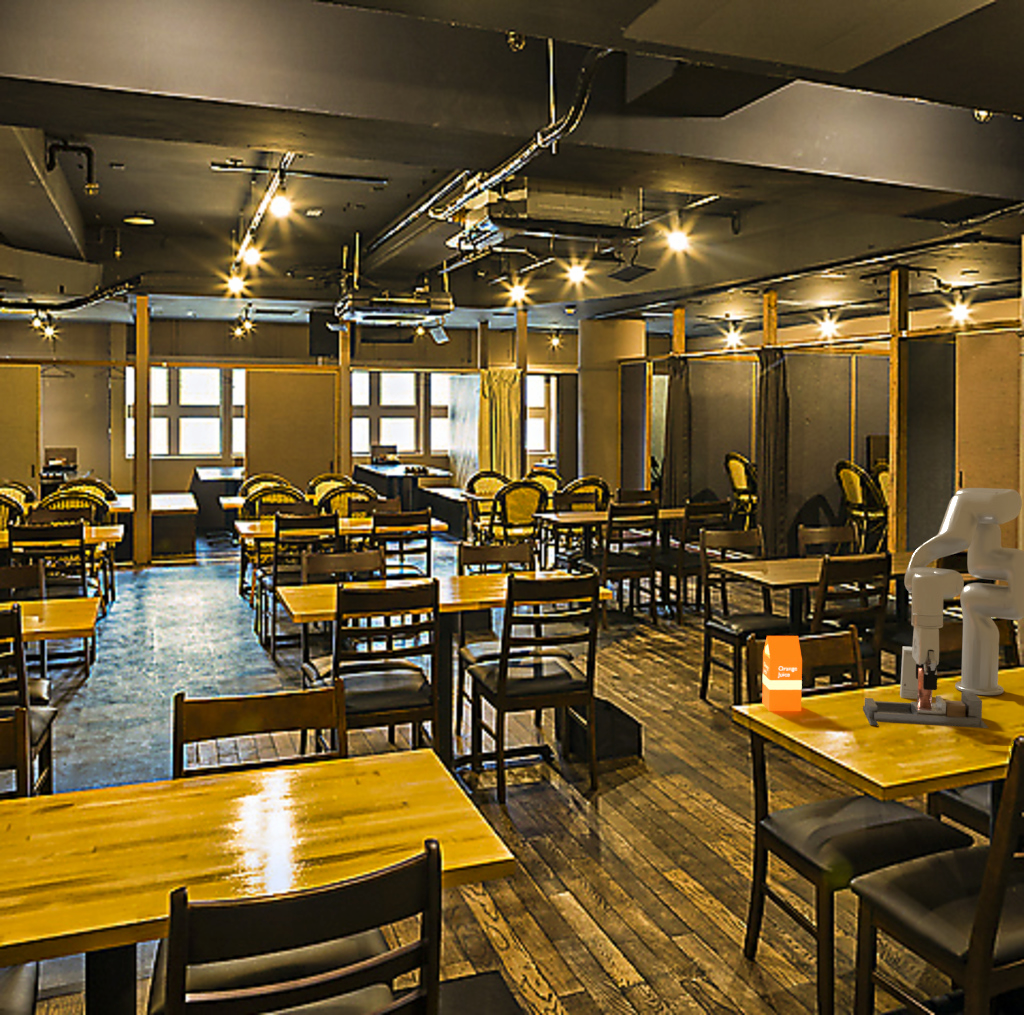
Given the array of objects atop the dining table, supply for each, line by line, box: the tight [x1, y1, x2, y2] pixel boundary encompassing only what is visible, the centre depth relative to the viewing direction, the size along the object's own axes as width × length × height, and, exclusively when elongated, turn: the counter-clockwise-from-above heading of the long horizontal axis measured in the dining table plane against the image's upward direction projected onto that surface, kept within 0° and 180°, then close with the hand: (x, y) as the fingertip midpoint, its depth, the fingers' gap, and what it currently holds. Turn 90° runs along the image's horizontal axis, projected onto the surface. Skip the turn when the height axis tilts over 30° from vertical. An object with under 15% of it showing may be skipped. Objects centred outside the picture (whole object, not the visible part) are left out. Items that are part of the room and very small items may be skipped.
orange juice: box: [761, 635, 803, 712], centre depth 255 cm, size 8×9×20 cm
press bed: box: [862, 691, 989, 729], centre depth 242 cm, size 14×28×7 cm, turn 77°
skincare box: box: [899, 646, 930, 700], centre depth 261 cm, size 8×6×15 cm
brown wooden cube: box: [943, 699, 966, 717], centre depth 240 cm, size 4×4×4 cm
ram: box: [910, 667, 946, 716], centre depth 241 cm, size 8×7×12 cm
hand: (926, 684), depth 242 cm, fingers open, 9 cm apart
